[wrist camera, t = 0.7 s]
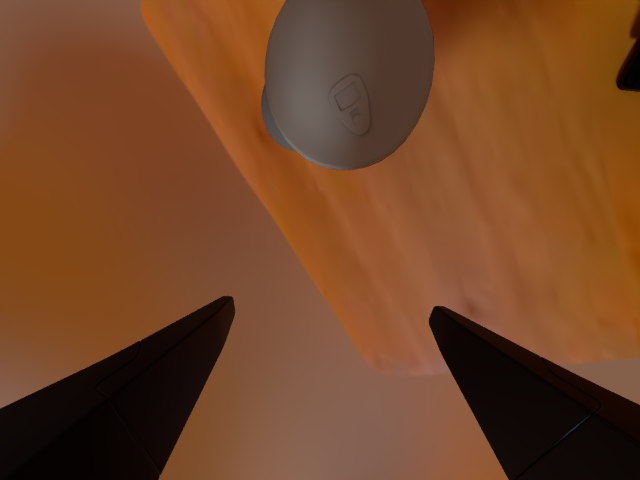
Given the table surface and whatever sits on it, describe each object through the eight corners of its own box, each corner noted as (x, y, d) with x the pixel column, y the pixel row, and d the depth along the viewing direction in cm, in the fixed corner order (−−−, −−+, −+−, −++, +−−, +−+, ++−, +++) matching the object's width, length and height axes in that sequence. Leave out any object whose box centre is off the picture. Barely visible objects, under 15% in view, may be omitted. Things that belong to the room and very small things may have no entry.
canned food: (362, 180, 22) (339, 202, 12) (306, 117, 21) (233, 84, 11) (433, 115, 18) (483, 69, 9) (369, 37, 18) (343, -106, 8)
